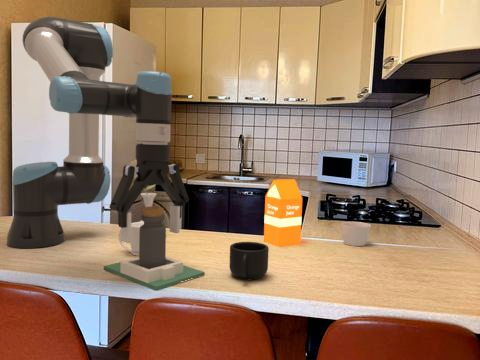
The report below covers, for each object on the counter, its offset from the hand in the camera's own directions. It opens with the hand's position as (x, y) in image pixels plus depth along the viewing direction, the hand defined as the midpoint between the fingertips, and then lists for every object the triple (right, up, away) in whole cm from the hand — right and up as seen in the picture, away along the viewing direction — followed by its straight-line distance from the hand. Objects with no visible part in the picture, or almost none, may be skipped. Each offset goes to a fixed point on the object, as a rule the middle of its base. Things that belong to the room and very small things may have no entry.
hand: (151, 237), depth 95 cm
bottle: (0, -8, +1) cm, 8 cm away
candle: (+57, -8, +38) cm, 68 cm away
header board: (0, -9, +3) cm, 9 cm away
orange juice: (+33, -7, +36) cm, 50 cm away
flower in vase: (-10, -5, +39) cm, 41 cm away
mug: (+22, -10, +2) cm, 24 cm away
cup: (-9, -7, +20) cm, 23 cm away
